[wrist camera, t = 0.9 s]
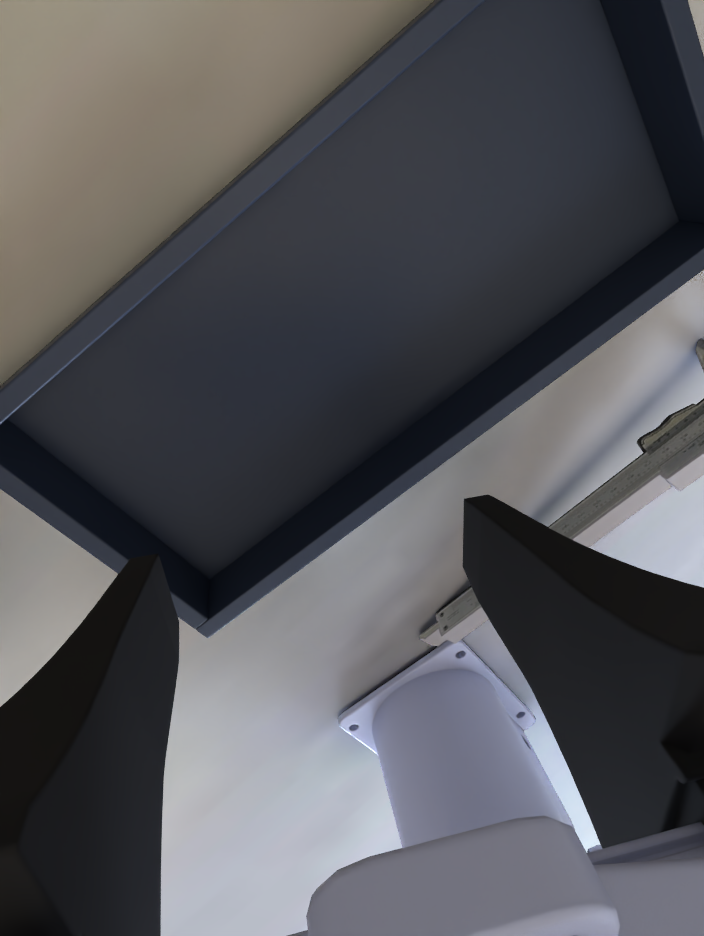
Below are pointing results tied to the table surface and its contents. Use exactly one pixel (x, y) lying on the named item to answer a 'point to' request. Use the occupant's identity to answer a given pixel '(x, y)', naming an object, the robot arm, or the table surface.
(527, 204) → the tool tray
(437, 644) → the caliper
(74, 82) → the table surface
